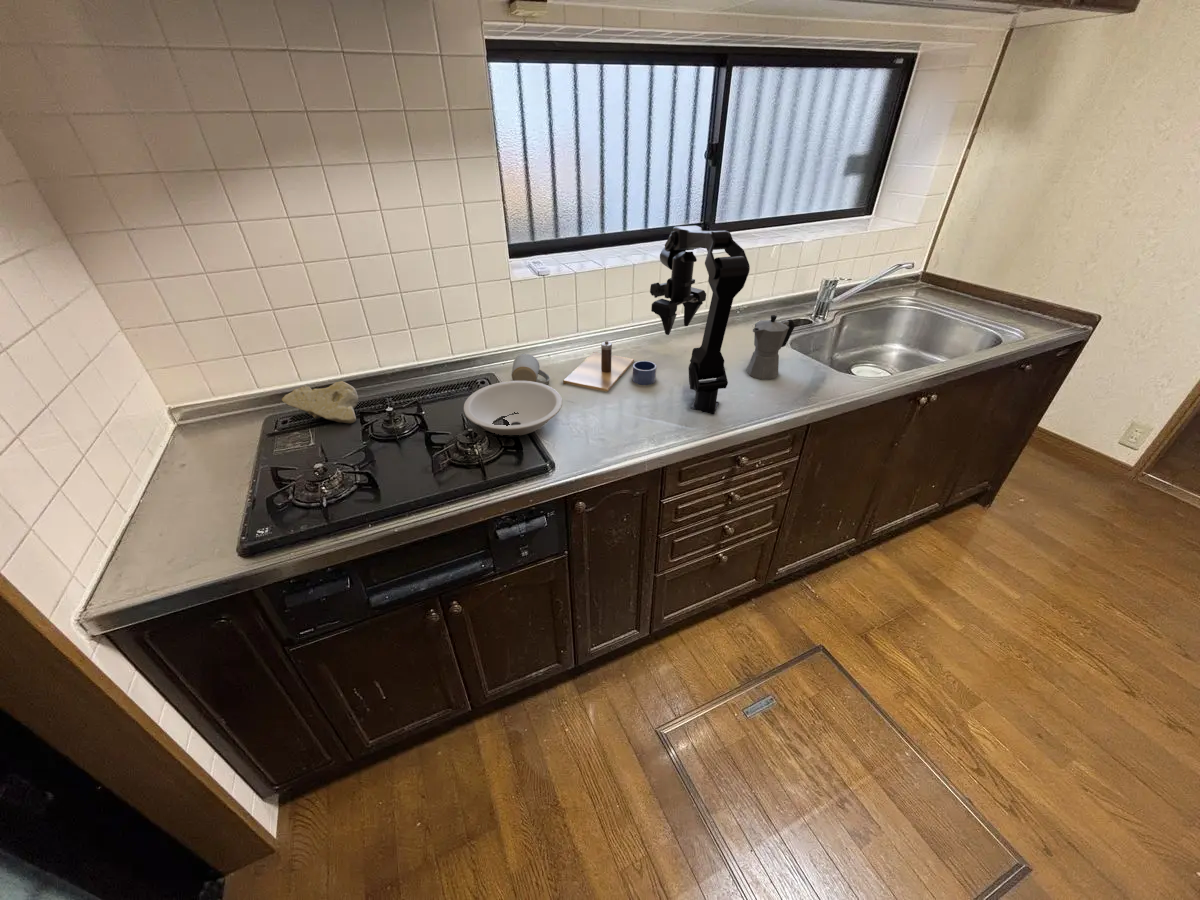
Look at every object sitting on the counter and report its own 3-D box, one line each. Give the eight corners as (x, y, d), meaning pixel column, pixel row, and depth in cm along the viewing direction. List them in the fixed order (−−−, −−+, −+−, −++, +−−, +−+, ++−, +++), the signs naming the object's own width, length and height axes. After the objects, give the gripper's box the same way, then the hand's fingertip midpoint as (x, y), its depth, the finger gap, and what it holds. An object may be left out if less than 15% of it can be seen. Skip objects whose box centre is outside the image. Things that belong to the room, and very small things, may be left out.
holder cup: (651, 388, 143) (652, 372, 140) (628, 383, 145) (629, 368, 143) (658, 378, 148) (659, 362, 145) (636, 374, 151) (637, 359, 148)
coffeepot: (755, 384, 146) (767, 324, 135) (734, 371, 152) (744, 313, 142) (795, 373, 151) (809, 315, 141) (773, 361, 158) (785, 305, 148)
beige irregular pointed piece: (376, 417, 134) (343, 373, 134) (370, 409, 127) (335, 363, 127) (324, 450, 129) (289, 404, 129) (314, 444, 122) (278, 396, 122)
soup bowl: (582, 425, 126) (582, 403, 123) (504, 465, 113) (501, 440, 109) (525, 393, 141) (522, 371, 137) (449, 424, 127) (444, 401, 123)
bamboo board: (607, 393, 141) (607, 389, 140) (563, 384, 145) (563, 380, 145) (634, 362, 157) (634, 358, 157) (593, 355, 162) (593, 351, 161)
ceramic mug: (512, 390, 142) (509, 365, 138) (514, 377, 149) (512, 353, 144) (549, 389, 143) (548, 365, 138) (550, 376, 149) (549, 352, 145)
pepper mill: (609, 373, 148) (609, 343, 143) (599, 371, 149) (599, 342, 144) (612, 369, 151) (613, 339, 145) (603, 367, 152) (603, 338, 146)
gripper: (677, 263, 146) (673, 315, 155) (637, 276, 135) (634, 331, 144) (710, 270, 140) (703, 324, 149) (670, 285, 129) (665, 342, 138)
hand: (676, 330), depth 145 cm, fingers open, 9 cm apart
